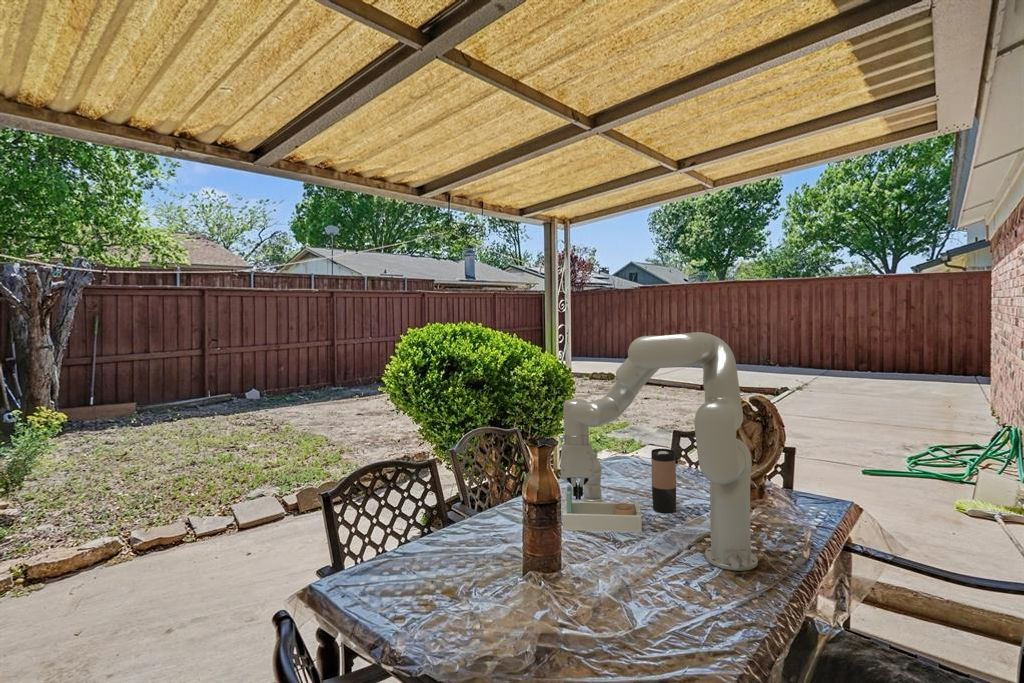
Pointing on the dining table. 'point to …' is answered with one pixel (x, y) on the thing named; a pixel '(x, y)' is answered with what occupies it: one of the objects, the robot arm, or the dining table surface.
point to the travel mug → (663, 480)
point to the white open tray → (601, 517)
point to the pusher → (569, 499)
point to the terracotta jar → (623, 509)
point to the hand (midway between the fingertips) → (578, 498)
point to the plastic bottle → (594, 483)
